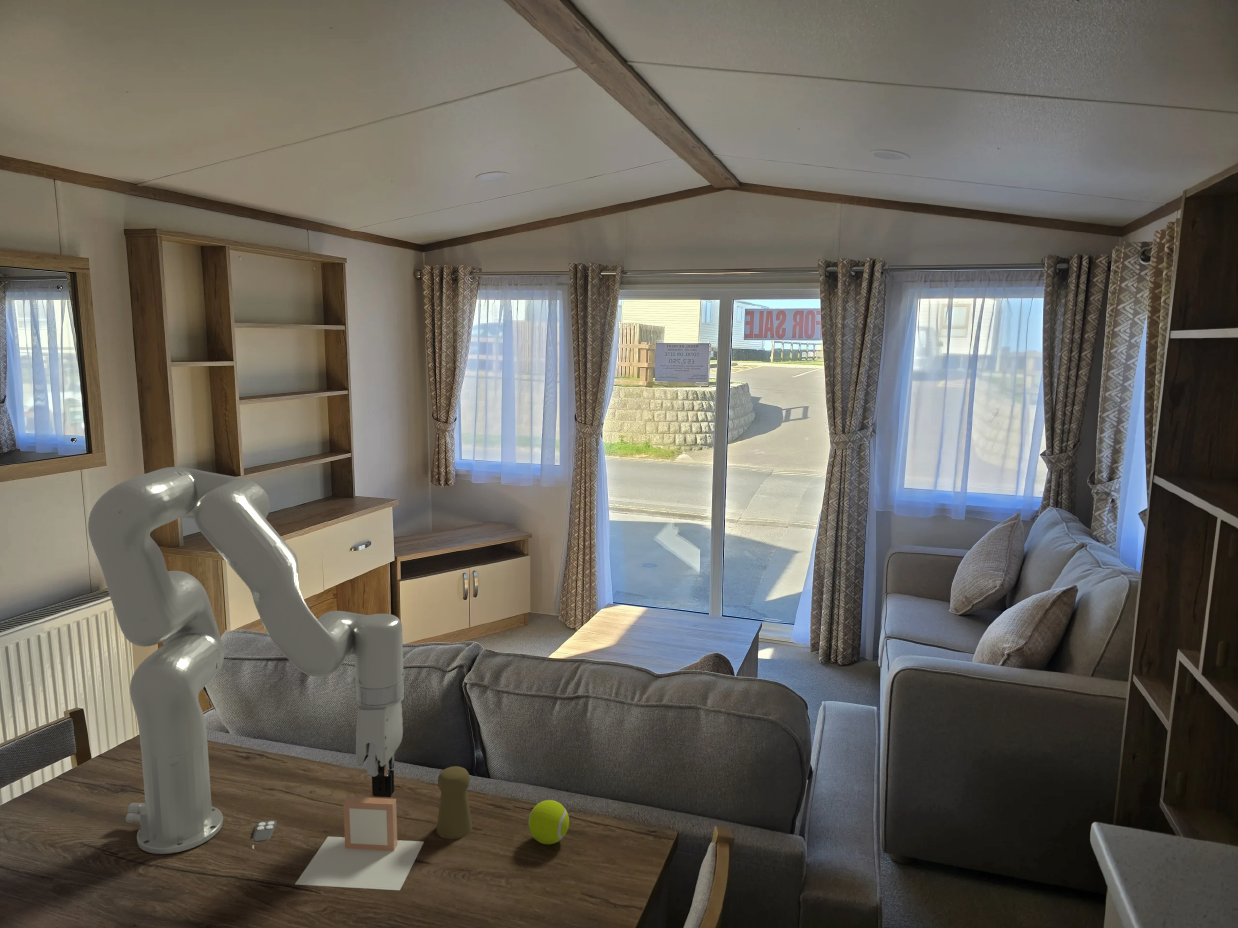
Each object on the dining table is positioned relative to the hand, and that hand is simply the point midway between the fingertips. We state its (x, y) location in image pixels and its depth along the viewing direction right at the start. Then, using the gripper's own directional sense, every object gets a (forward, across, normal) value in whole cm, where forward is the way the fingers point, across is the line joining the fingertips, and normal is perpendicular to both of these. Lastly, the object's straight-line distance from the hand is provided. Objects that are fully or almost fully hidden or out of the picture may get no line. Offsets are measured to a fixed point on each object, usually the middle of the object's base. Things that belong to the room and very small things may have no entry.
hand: (383, 793), depth 139 cm
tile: (+6, +6, 0) cm, 8 cm away
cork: (+6, 0, +12) cm, 14 cm away
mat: (+6, +10, 0) cm, 12 cm away
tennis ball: (+6, +1, +28) cm, 29 cm away
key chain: (+7, +7, -18) cm, 21 cm away
